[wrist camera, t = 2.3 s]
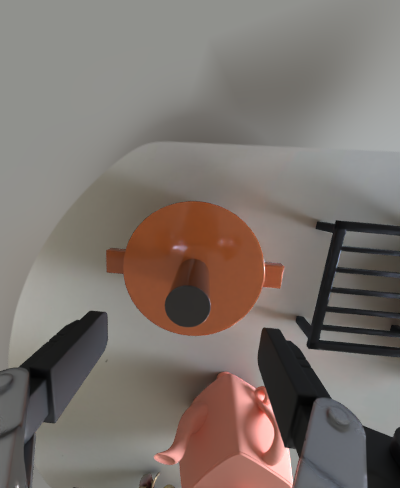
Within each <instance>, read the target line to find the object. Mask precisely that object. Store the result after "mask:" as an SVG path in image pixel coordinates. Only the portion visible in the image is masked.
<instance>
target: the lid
mask: <svg viewBox="0 0 400 488" xmlns="http://www.w3.org/2000/svg"><path fill="white" fill-rule="evenodd" d="M123 273H124V280H125V285H126V288H127V290H128V293H129V295H130V297H131V299H132V301H133V302H134V304H135V305H136V307H137V308H138V309H139V311H140V312H141V313H142V314H143V315H144V316H145V317H146V318H147V319H149V320H150V321H151V322H153V323H154V324H156V325H157V326H159V327H161V328H163V329H165V330H168V331H170V332H173V333H177V334H181V335H188V336H201V335H209V334H214V333H217V332H220V331H223V330H225V329H227V328H229V327H231V326H232V325H234V324H236V323H237V322H238V321H240V320H241V319H242V318H243V317H244V316H245V315H246V314H247V313H248V312H249V311H250V310H251V308H252V307H253V306H254V304H255V303H256V301H257V299H258V297H259V295H260V292H261V290H262V286H263V282H264V274H265V266H264V258H263V253H262V250H261V247H260V244H259V242H258V240H257V238H256V236H255V235H254V233H253V232H252V230H251V229H250V228H249V227H248V226H247V224H246V223H245V222H244V221H243V220H241V219H240V218H239V217H238V216H237V215H235V214H233V213H232V212H230V211H229V210H227V209H225V208H222V207H220V206H217V205H214V204H211V203H206V202H198V201H188V202H179V203H175V204H171V205H168V206H166V207H163V208H161V209H159V210H157V211H156V212H154V213H152V214H151V215H150V216H148V217H147V218H146V219H145V220H144V221H143V222H142V223H141V224H140V225H139V226H138V227H137V229H136V230H135V231H134V233H133V234H132V236H131V238H130V240H129V242H128V245H127V247H126V250H125V255H124V262H123Z"/></svg>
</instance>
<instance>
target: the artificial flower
mask: <svg viewBox="0 0 400 488" xmlns="http://www.w3.org/2000/svg"><path fill="white" fill-rule="evenodd" d="M160 473H161V472H159V473H158V474H157V475H156V477H155V479H154V481H153V479H152V475H151V473H150V474H145V475H143V477H142V478H141V480H140V484H139V486H140V487H139V488H154V484H155V481H156V479H157V477H158V476H159V474H160ZM164 488H175V487H173V486H172V485H166V486H165V487H164Z"/></svg>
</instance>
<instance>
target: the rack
mask: <svg viewBox="0 0 400 488" xmlns="http://www.w3.org/2000/svg"><path fill="white" fill-rule="evenodd" d="M316 229H319V230H323V231H327V232H331V233H333V235H332V239H331V243H330V247H329V252H328V256H327V260H326V264H325V269H324V273H323V277H322V281H321V286H320V290H319V294H318V298H317V303H316V307H315V311H314V315H313V320H312V324H311V325H310V324H309V323H308V322H307V320H306V319H305V318H304V317H302V316H297V318H296V323H297V324H298V326H299V327H300V328H301V330H302V331H303V332H304V334H305V335H306V336H307V338H308V341H307V347H308V348H309V349H317V350H328V351H338V352H348V353H359V354H369V355H380V356H390V357H400V348H397V347H387V346H376V345H366V344H355V343H345V342H335V341H324V340H319V339H320V333H321V330H326V331H336V332H347V333H357V334H368V335H378V336H389V337H399V338H400V326H398V325H392V326H391V329H390V331H385V330H374V329H363V328H353V327H342V326H332V325H323V321H324V317H325V313H326V312H336V313H346V314H357V315H367V316H378V317H389V318H399V319H400V313H393V312H383V311H372V310H361V309H351V308H340V307H329V306H327V305H328V301H329V297H330V293H331V292H334V293H344V294H355V295H366V296H376V297H387V298H398V299H400V293H390V292H379V291H368V290H358V289H347V288H336V287H332V285H333V281H334V277H335V273H336V272H341V273H352V274H363V275H374V276H384V277H395V278H400V273H397V272H386V271H375V270H364V269H353V268H343V267H337V265H338V260H339V256H340V252H341V251H349V252H360V253H371V254H382V255H392V256H400V251H393V250H382V249H371V248H360V247H349V246H342V244H343V240H344V236H345V234H346V231H354V232H365V233H376V234H387V235H398V236H400V226H393V225H382V224H371V223H360V222H349V221H338V220H336V222H335V224H333V223H327V222H317V225H316Z"/></svg>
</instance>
